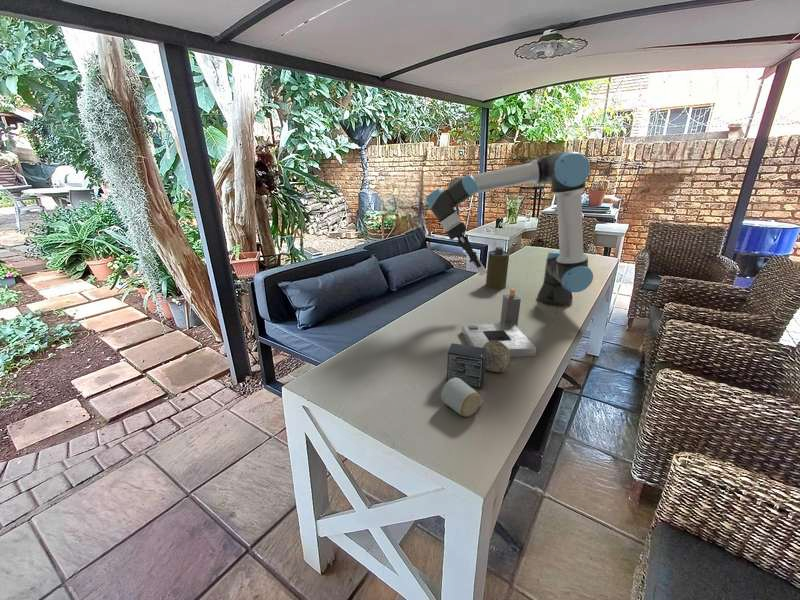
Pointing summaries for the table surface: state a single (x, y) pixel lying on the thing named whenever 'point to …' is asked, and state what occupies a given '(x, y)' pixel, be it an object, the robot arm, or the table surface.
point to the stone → (497, 356)
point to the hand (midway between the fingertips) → (482, 271)
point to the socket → (499, 337)
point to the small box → (467, 364)
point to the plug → (510, 308)
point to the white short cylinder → (461, 397)
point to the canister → (497, 269)
